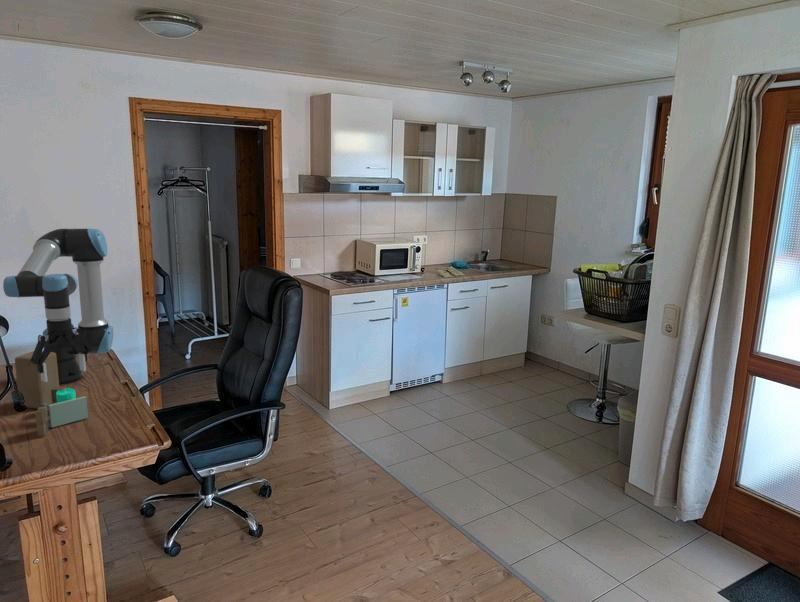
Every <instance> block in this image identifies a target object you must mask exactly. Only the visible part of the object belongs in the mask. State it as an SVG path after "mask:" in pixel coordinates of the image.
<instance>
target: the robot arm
mask: <svg viewBox="0 0 800 602" xmlns="http://www.w3.org/2000/svg"><path fill="white" fill-rule="evenodd" d="M107 255H108V244H107V240H106V237H105V234H104V232H103V231H102V230H100V229H98V228H58V229H53V230H51V231H49V232H47V233H45V234H43V235H41V236H40V237H39V238H38V239H37V240H36V241H35V242H34V244H33V247H32V252H31V253H30V255H29V257H28V258H27V260H26V261H25V262H24V264H23V266H22V267H21V268H20V271H19V272H18V273H17V275H9V276H6V277H4V279H3V283H2V284H3V285H2V287H3V292H4V295H5V296H6V297H9V298H18V299H19V298H35V297H36V298H38V297H39V298H41V297H42V298H43V301H44V311H45V319H47V320H46V321H45V323H46V328H45V329H44V330H43V331H42V334H39V335H37V343H36V345H35V348H34V350H33V351H34V353H33V355H32V358H31V360H30V362H31V363H33V364H37V369H38V373H41V381H44V382H48V380H47V370H46V364H45V363H44V361H45V360H46V358H47V357H48V355H49V354H50V352H54V353H56V358H57V368H58V379H59V384H65V383H69V382H73V381H74V382H75V381H76V380H78V379H81V378H82V377H83V372H86V371H87V365H86V362H87V361H88V355H89V354H90V355H91V354H93V355H95V354H97V355H99V354H106V353H109V352H110V351H111V349H112V345H113V342H114V341H113V340H114V327H113V326H111V325H109V321H108V320H107V319H106V318H105V314H104V313H105V312H104V301H103V300H104V299H103V298H104V297H103V289H102V288H103V287H102V276H101V275H102V274H101V272H102V271H101V264H102V262H104V257H108V256H107ZM59 257H60V258H62V257H69V258H71V259H72V262H73V263H74V264H75V265H76V267H77V268H76V269H77V270H76V271H77V279H76V277H75V276H74V275H73V274H69V273H50V274H47V275H46V273H47V272H48V270H49V269H50V267H51V265H52V263H53V262H54V261H55V260H57V259H58V258H59ZM77 288H78V292H79V304H80V316H81V321H80V322H78V324H77V327H75V326H74V324H73V323H72V318H71V317H72V314H71V313H72V312H71V306H70V296H71V295H72V294H74V292H76V289H77ZM42 351H43V352H42ZM77 355H78V359H77Z"/></svg>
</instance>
